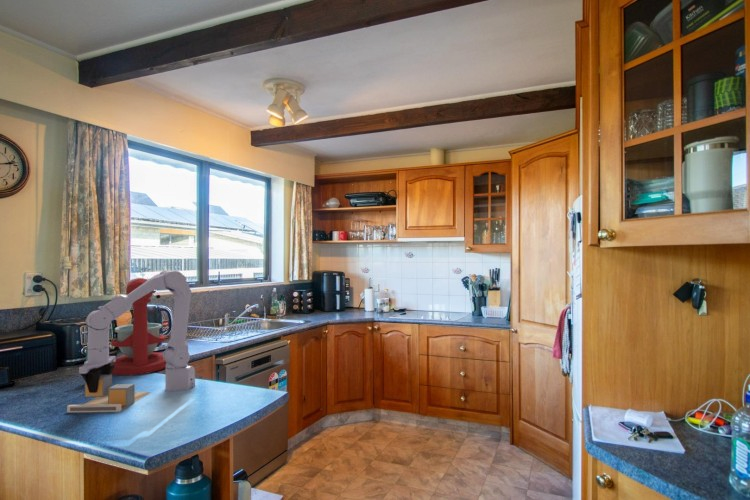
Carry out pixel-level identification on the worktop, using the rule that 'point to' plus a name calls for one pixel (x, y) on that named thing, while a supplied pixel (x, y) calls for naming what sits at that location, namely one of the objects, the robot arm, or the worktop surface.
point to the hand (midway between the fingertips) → (98, 389)
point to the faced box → (121, 394)
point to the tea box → (100, 387)
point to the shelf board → (105, 399)
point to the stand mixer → (138, 339)
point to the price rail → (94, 408)
